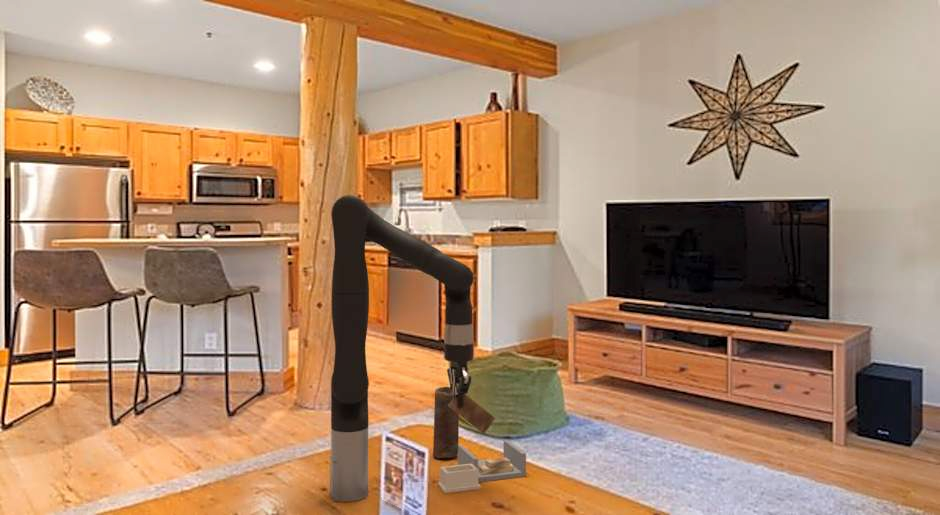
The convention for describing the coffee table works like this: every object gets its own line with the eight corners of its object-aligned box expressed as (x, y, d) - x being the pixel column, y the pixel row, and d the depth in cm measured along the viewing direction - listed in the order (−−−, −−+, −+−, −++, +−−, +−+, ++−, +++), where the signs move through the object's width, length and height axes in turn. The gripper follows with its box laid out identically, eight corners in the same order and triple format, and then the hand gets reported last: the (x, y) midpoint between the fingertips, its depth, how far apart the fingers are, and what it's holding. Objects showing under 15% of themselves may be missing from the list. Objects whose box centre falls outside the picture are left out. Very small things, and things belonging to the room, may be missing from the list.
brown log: (458, 452, 194) (458, 386, 194) (459, 460, 187) (459, 391, 187) (433, 453, 194) (433, 386, 194) (433, 461, 187) (433, 392, 186)
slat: (483, 434, 168) (449, 407, 165) (481, 431, 170) (447, 405, 166) (495, 418, 169) (461, 391, 165) (492, 416, 171) (459, 389, 167)
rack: (473, 482, 170) (473, 459, 169) (457, 467, 182) (457, 445, 182) (526, 476, 174) (526, 453, 174) (507, 461, 187) (507, 439, 187)
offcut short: (489, 468, 172) (489, 463, 172) (485, 465, 175) (485, 459, 175) (510, 465, 175) (510, 460, 175) (505, 462, 177) (505, 457, 177)
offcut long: (482, 475, 172) (482, 469, 172) (478, 471, 175) (478, 465, 175) (513, 471, 175) (513, 465, 175) (509, 467, 178) (509, 462, 178)
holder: (444, 493, 162) (444, 474, 162) (437, 485, 168) (437, 466, 168) (480, 488, 165) (480, 470, 165) (472, 480, 171) (472, 462, 171)
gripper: (437, 338, 171) (437, 404, 171) (452, 345, 159) (453, 416, 159) (464, 337, 174) (464, 401, 174) (481, 344, 161) (481, 413, 161)
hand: (458, 408), depth 166 cm, fingers closed, pressing on slat
